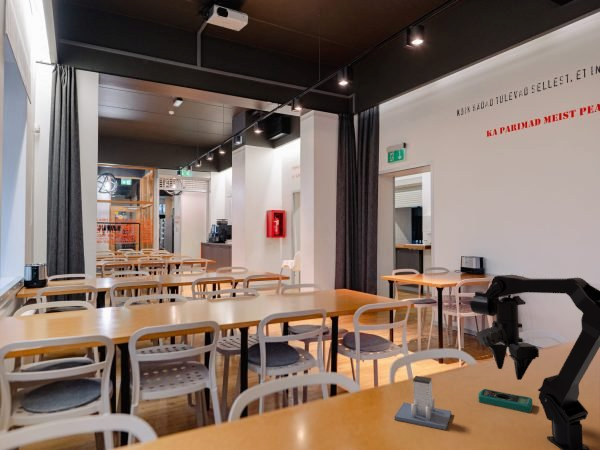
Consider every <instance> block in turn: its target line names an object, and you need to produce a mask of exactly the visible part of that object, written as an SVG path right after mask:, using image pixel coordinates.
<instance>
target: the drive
mask: <svg viewBox="0 0 600 450" xmlns="http://www.w3.org/2000/svg"><path fill="white" fill-rule="evenodd" d="M412 382H413V384H412V385H413V386H412V387H413V389H412V390H413V403H414V404H416V415H420V416H425V417H426V406H430V417H431V415H432V398H433V391H432V390H433V389H432V388H433V387H432V385H433V384H432V383H433V382H432V377H427V376H420V375H419V376H418V375H415V376H414V378H413V380H412Z"/></svg>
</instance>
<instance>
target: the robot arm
mask: <svg viewBox="0 0 600 450" xmlns="http://www.w3.org/2000/svg"><path fill="white" fill-rule="evenodd" d="M525 293H533V294H534V293H537V294H540V293H541V294H566V295H567V296H568V297H569V299H571V301H572V302H573V304H574V306H575V307H576V308H577V309H578V310H579V311H581V313H582V316H581V319H580V321H581V322H580V323H581V331H580V333H579V334H578V337H577V339H576V340H575V342H574V344H573V346H572V348H571V350H570V351H569V354H568V355H567V357H566V359H565V361H564V363H563V365H562V366H561V368H560V370H559V373H558V374H556V375H555V374H554V375H551V376H548V377H545V378H544V379H543V381H542V384H541V386H540V387H539V388H538V389H537V391H538V392H539V393H538V400H539V402H540V404H541V406H542V409H543V411H544V414H545V417H546V419H547V421H551V434H552V435H549V436H546V439H547V440H548V441H550V442H551V443H552V444H554V445H556V447H558V448H559V449H561V450H590V447H589V446H587V445H585V444H584V442H583V424H582V423H581V421H583V420H586V419H587V417H588V414H589V411H588V409H586V408H585V407H584V405H582V403H581V402H580V400H579V396H580V383H581V381H582V379H583V377H585V374H586V372H587V370H588V369H589V367H590V365H591V364H592V362H593V359H594V358H595V357H596V355H597V353H598V351H599V350H600V290H599V289H598V288H596V287H594V286H593V285H591V283H590V282H589V283H588V281H586V280H585V279H584V278H582V277H578V276H577V277H569V278H529V277H526V276H522V275H516V274H504V275H503V274H502V275H496V276H493V278H492V281H491V284H490V285H489V287H488V289H487V290H486V291H485V292H484V291H479V290H478V291H475V292H474V296H473V297H472V298H471V302H470V304H469V305H470V309H471V311H472V312H473V313H474V314H477V315H478V314H479V315H483V316H484V315H485V316H489V317H494V316H495V317H496V318H495V320H493V322H491V324H492V326H491V327H487V328H485V329H483V330H480V331H477V332H476V334H475V335H476V337H477V340H478V342H479V345H483V346H484V347H486V348H489V349H490V350H491V352H492V356H493V358H494V361H495V364H496V368H497V369H498V370H502V369H503V367H504V363H505V359H506V355H507V349H508V351H509V355H508V356H509V358H511V360H512V361H513V363H514V371H515V378H516V379H517V380H518V381H519V380H520V381H521V380H522V379H523V378H524V376H525V374H526V372H527V370H528V368H529V366H530V365H531V364H532V361H534V360H536V359H537V358H540V349H539V348H538V346H536V345H533V344H530V343H528V342H524V339H523V338H522V337H520V328H523V324H522V323H520V322H519V321H520V319H519V306H521V305H522V306H523V305H526V304H527V303H526V300H523V299H522V298H521V297H520V295H519V294H525ZM512 295H513V297H509V296H512Z"/></svg>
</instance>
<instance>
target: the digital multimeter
mask: <svg viewBox="0 0 600 450" xmlns="http://www.w3.org/2000/svg"><path fill="white" fill-rule="evenodd" d="M478 402H479V403H482V404H484V405H485V404H486V405H491V406H495V407H501V408H504V409H505V408H506V409H510V410H515V411H518V412H523V413H531V411H532V410H533V399H532V398H531V397H528V396H525V395H524V396H523V395H518V394H513V393H507V392H501V391H498V390H497V391H496V390H493V389H488V388H484V389H482V390H480V391H479V392H478Z"/></svg>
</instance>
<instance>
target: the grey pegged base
mask: <svg viewBox="0 0 600 450" xmlns="http://www.w3.org/2000/svg"><path fill="white" fill-rule="evenodd" d="M435 405H436V404H435V397H432V415H431V417H430V406H426V417H425V416H420V415H416V404H414V402H413V403H411V402H410V403H409V402H404V401H403V402H402V404H401V406H400V407H399V408H398V411H397V412H396V414H395V415H394V420H395V421H398V422H404V423H407V424H409V423H410V424H413V425H419V426H423V427H429V428H434V429H437V428H438V429H439V430H442V429H443V431H447V428H448V425H449V423H450V420H451V416H452V410H450V409H449V410H448V409H443V408H437V407H435ZM448 422H449V423H448ZM438 429H437V430H438Z"/></svg>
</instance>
